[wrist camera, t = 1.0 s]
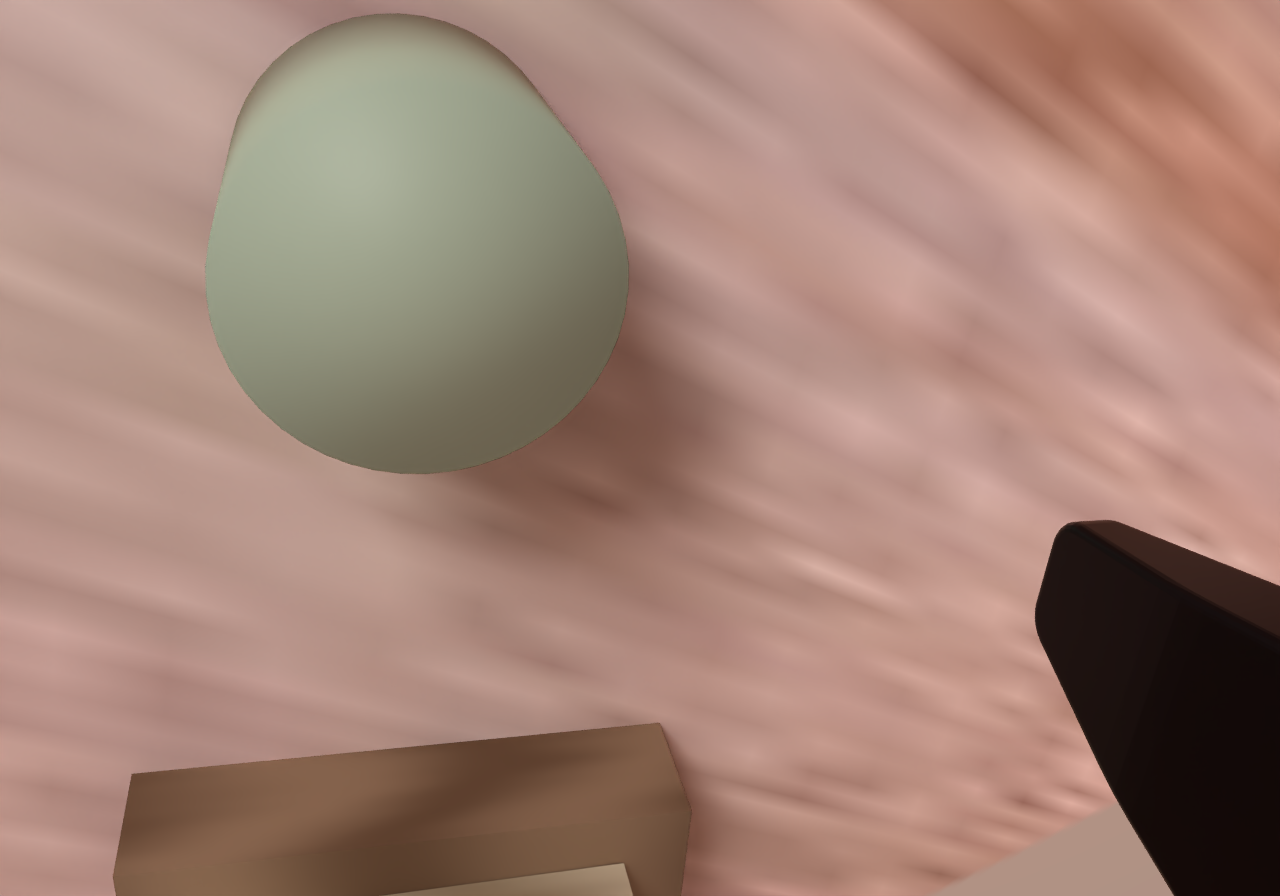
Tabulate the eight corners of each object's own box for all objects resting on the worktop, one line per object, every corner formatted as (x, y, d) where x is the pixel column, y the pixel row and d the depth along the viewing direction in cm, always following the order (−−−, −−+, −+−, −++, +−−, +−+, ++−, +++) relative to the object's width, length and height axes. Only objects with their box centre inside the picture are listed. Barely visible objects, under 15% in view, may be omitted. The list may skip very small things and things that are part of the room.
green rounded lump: (571, 20, 18) (644, 85, 14) (556, 335, 20) (614, 465, 16) (214, 4, 17) (185, 69, 13) (240, 341, 19) (223, 482, 15)
